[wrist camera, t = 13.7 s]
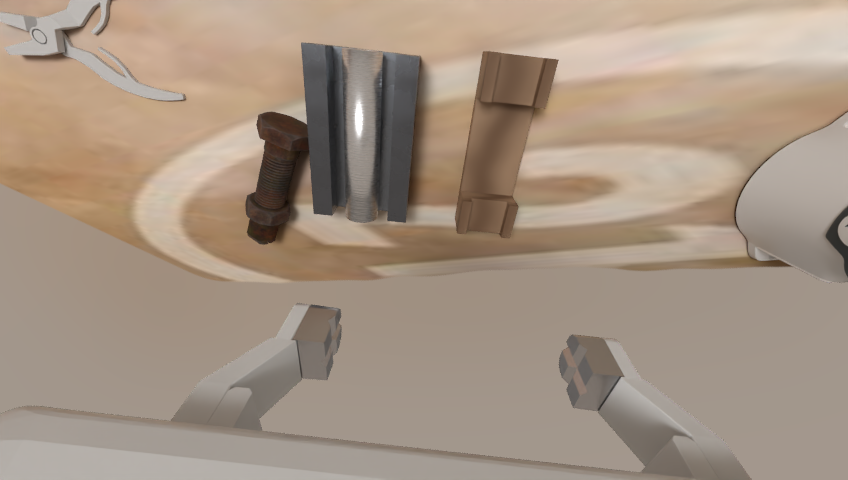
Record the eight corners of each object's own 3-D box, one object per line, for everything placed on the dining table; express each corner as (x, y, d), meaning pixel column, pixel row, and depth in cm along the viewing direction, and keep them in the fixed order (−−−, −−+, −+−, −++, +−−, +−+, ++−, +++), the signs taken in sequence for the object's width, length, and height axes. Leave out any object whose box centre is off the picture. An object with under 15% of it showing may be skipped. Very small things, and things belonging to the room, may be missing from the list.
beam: (544, 59, 32) (558, 59, 28) (502, 222, 41) (509, 238, 37) (482, 51, 31) (489, 51, 28) (454, 217, 40) (457, 233, 37)
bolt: (268, 220, 43) (294, 113, 36) (293, 243, 42) (326, 136, 35) (225, 231, 38) (245, 109, 31) (252, 257, 37) (280, 136, 30)
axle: (346, 47, 30) (337, 47, 27) (385, 52, 30) (379, 52, 27) (349, 207, 38) (342, 220, 35) (379, 210, 38) (375, 223, 35)
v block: (420, 56, 32) (419, 56, 28) (407, 205, 40) (405, 222, 36) (316, 43, 31) (301, 42, 27) (325, 197, 39) (313, 213, 35)
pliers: (178, 103, 33) (26, 91, 32) (188, 101, 34) (42, 89, 34) (143, -20, 28) (-38, -36, 27) (156, -17, 29) (-16, -32, 29)
